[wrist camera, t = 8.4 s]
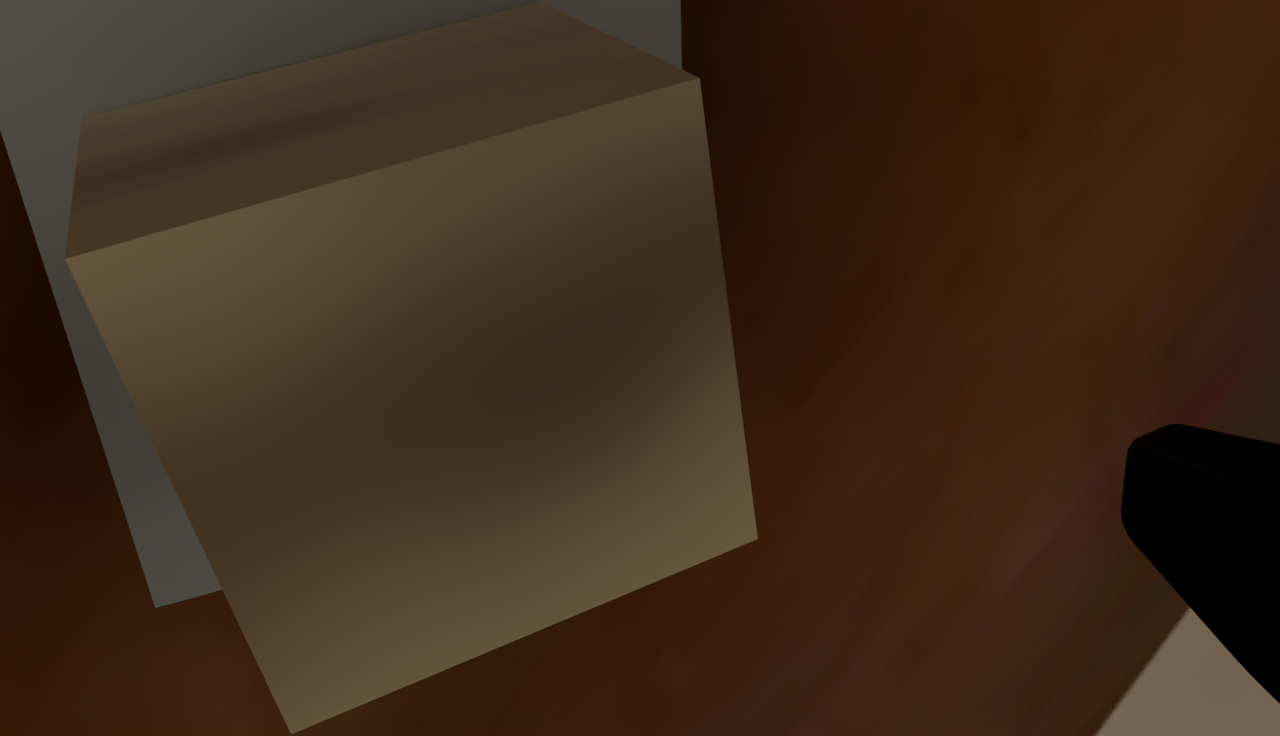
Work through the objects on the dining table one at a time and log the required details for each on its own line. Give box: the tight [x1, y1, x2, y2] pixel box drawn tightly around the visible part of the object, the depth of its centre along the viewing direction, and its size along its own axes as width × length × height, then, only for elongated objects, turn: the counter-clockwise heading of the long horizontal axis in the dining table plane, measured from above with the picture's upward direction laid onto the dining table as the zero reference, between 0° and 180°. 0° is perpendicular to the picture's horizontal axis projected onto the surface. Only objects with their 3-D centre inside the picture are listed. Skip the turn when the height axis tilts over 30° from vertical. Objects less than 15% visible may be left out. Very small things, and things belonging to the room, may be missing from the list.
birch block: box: [65, 2, 758, 734], centre depth 14 cm, size 6×6×5 cm
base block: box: [0, 0, 682, 608], centre depth 17 cm, size 9×9×4 cm
